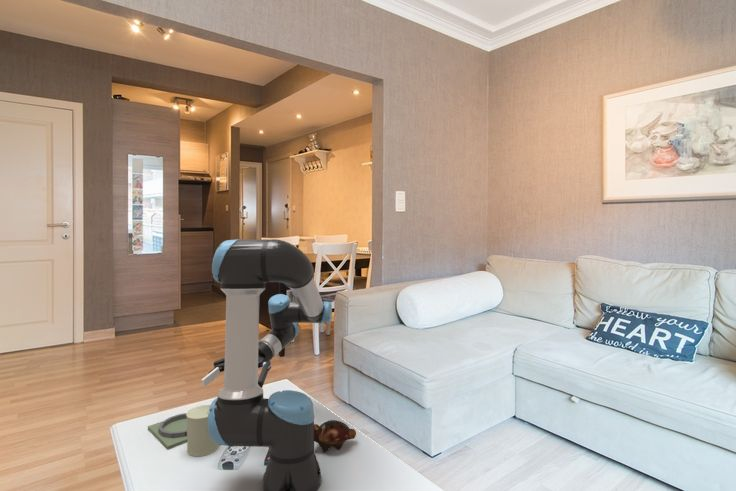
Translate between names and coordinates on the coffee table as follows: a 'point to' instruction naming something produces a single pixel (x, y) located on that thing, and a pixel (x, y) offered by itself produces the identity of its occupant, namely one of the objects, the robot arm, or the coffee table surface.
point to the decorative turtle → (332, 434)
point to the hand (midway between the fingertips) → (218, 390)
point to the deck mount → (171, 431)
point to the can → (199, 432)
